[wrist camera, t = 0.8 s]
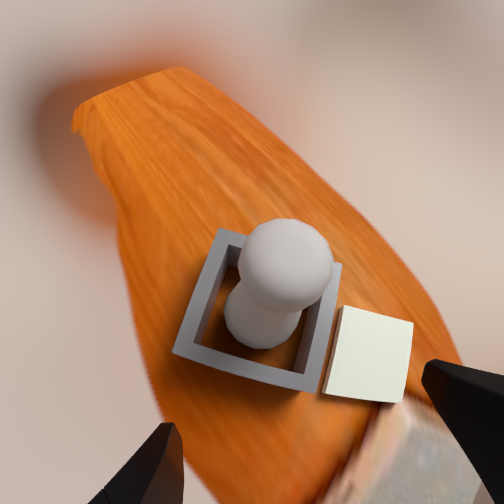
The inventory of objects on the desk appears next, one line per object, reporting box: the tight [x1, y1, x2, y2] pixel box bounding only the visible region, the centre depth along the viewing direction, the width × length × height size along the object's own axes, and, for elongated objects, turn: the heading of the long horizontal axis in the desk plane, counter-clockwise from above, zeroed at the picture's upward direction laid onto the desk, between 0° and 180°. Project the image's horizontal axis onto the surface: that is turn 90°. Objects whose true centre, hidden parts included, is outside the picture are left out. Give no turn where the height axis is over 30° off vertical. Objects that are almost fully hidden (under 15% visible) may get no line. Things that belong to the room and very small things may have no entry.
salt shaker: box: [223, 219, 333, 349], centre depth 17 cm, size 6×6×13 cm
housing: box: [172, 228, 342, 394], centre depth 21 cm, size 10×10×4 cm
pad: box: [321, 305, 414, 403], centre depth 21 cm, size 8×8×1 cm
